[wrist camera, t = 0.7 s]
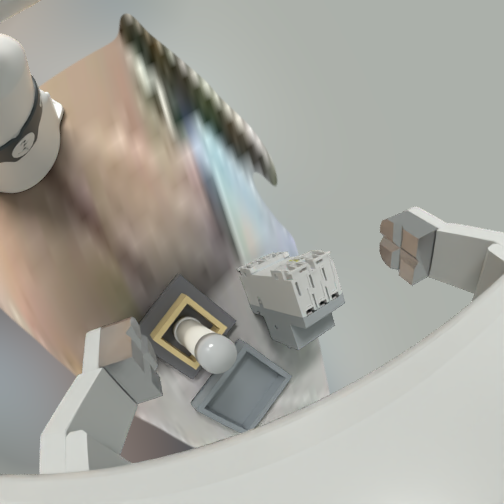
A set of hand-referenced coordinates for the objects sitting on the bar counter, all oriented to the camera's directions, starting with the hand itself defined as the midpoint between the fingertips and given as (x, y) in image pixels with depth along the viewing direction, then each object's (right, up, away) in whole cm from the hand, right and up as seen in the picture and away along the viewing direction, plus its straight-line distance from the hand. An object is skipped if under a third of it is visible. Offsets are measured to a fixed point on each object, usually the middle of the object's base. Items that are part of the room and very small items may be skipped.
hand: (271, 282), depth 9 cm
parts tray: (-3, -23, +41) cm, 47 cm away
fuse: (-11, -11, +36) cm, 39 cm away
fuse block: (-11, -11, +37) cm, 40 cm away
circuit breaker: (+2, -7, +44) cm, 45 cm away
